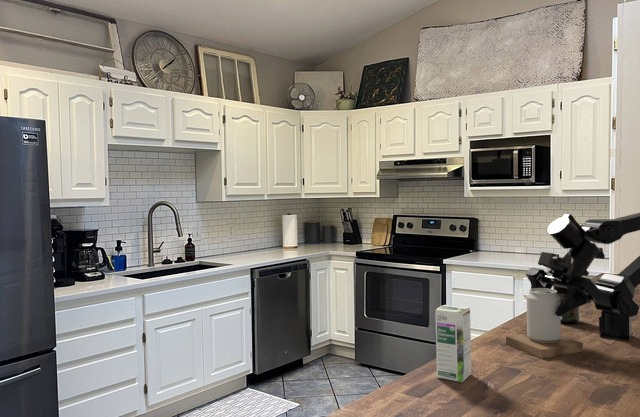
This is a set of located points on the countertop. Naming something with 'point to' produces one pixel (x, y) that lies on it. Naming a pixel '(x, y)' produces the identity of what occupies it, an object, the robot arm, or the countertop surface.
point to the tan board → (544, 346)
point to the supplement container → (572, 315)
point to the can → (543, 315)
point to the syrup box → (453, 342)
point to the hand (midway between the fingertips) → (542, 310)
